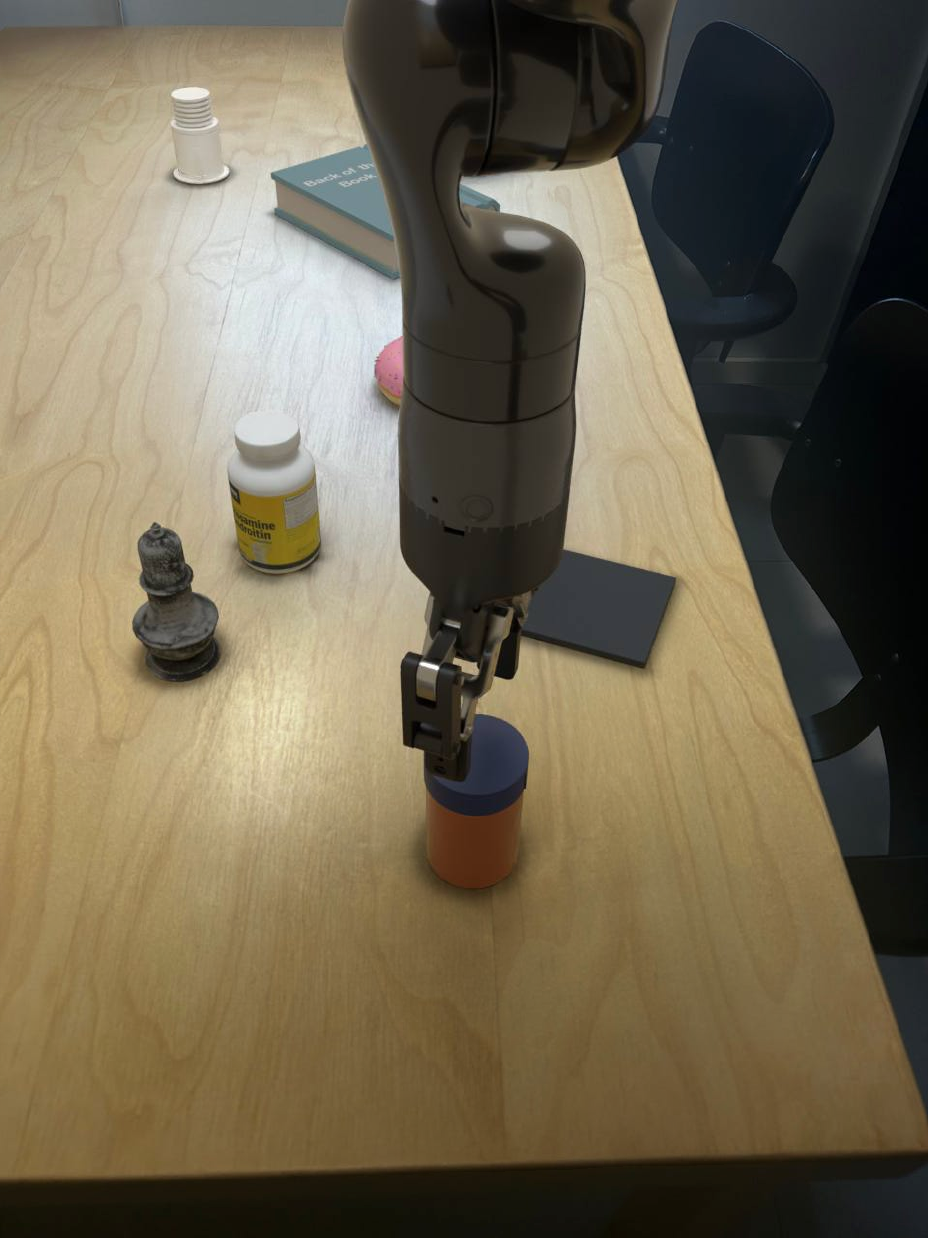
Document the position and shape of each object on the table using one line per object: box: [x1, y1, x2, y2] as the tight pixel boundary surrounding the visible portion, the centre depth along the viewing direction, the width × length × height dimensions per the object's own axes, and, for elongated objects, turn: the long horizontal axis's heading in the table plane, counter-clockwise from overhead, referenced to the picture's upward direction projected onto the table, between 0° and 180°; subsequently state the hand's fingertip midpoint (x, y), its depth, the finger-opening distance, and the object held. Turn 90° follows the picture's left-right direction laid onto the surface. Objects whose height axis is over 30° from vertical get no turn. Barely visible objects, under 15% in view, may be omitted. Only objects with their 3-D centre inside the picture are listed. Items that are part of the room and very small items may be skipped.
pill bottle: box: [226, 409, 322, 575], centre depth 84 cm, size 6×6×12 cm
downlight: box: [170, 86, 230, 185], centre depth 139 cm, size 8×7×10 cm
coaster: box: [521, 548, 677, 669], centre depth 83 cm, size 10×10×1 cm
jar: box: [425, 786, 525, 890], centre depth 64 cm, size 6×6×9 cm
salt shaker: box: [131, 521, 222, 683], centre depth 75 cm, size 6×6×12 cm
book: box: [270, 143, 501, 280], centre depth 131 cm, size 23×16×5 cm
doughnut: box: [373, 335, 403, 407], centre depth 104 cm, size 11×11×4 cm
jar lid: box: [423, 713, 530, 816], centre depth 62 cm, size 6×6×2 cm
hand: (473, 720), depth 59 cm, fingers open, 7 cm apart
